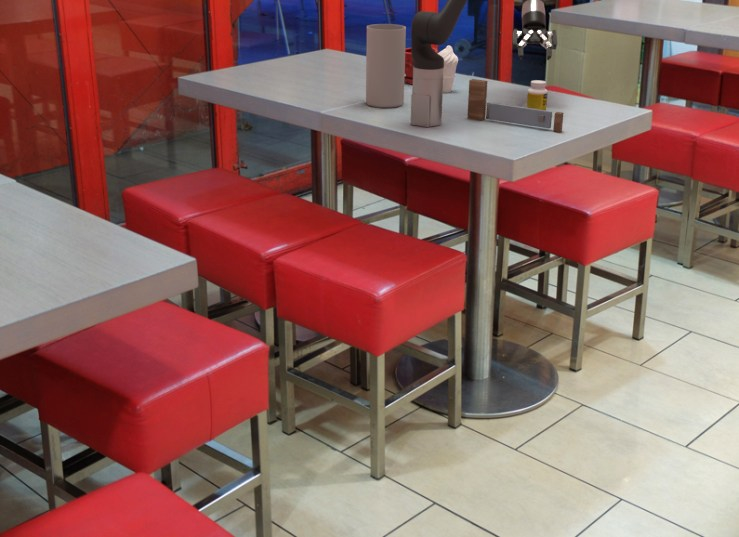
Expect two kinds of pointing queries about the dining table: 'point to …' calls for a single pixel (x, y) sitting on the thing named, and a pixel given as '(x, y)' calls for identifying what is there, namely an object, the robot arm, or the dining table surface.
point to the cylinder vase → (385, 65)
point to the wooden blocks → (479, 104)
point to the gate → (519, 115)
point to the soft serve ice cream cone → (448, 68)
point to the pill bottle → (537, 95)
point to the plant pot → (410, 65)
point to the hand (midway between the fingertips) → (535, 58)
